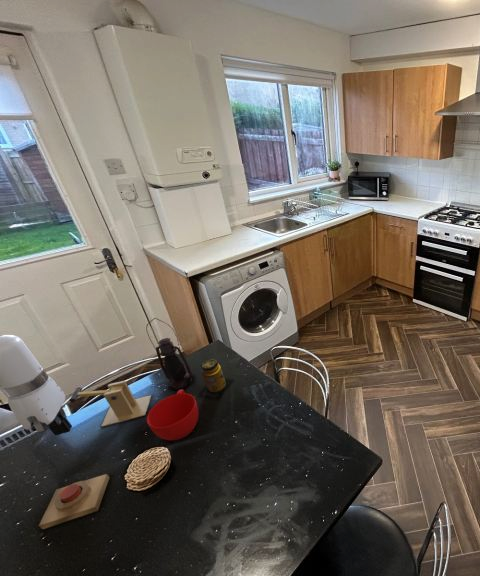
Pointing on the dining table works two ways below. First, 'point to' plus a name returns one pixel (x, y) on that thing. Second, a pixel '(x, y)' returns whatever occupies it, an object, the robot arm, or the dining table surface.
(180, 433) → the ceramic cup
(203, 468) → the dining table surface
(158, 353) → the lantern
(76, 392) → the lever
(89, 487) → the button block
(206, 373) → the condiment
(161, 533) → the dining table surface
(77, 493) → the button
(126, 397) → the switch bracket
